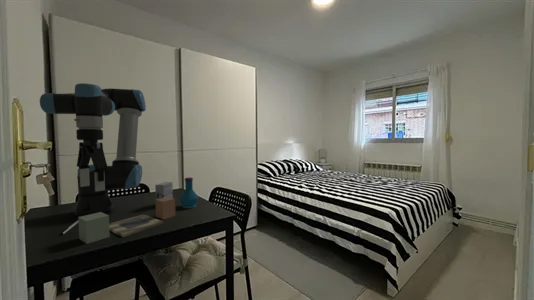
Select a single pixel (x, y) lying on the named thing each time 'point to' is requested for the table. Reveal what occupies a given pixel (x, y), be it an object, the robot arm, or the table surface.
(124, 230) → the beige flat square slab
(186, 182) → the teal vase
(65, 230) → the pen
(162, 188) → the ink box
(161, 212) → the terracotta block
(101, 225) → the sage block
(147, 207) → the table surface
